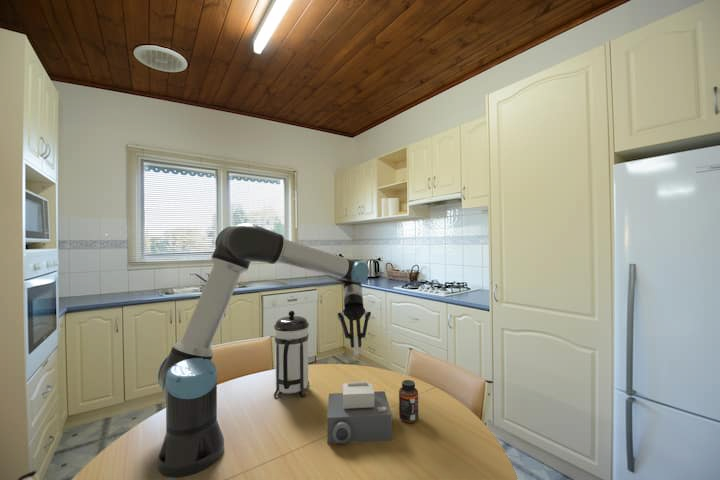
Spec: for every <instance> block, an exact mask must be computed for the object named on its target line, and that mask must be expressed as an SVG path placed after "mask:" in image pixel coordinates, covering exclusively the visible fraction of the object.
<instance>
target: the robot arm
mask: <svg viewBox="0 0 720 480" xmlns="http://www.w3.org/2000/svg"><path fill="white" fill-rule="evenodd" d="M214 246H215V248H214V251H213V254H212V255H211V258H210V259H211V261H212V264H213V266H212V268H211V271H210V273H209V275H208V278H207V280H206V282H205V285H204V287H203V289H202V291H201V294H200V296H199V298H198V301H197V304H196V306H195V308H194V310H193V313H192V315H191V317H190V319H189V321H188V324H187V326H186V329H185V331H184V334H183V335H182V338H181V339H180V341H178V342H175V343H174V344H173V345H172V347H171V350H170V352H169V354H168V355H167V356H166V357H165V358H164V359H163V361H162V362H161V364H160V365H159V369H158V372H157V380H158V385H159V386H160V388H161V391H162V393H163V396H164V400H165V407H166V408H165V409H166V410H165V411H166V412H165V418H166V422H165V423H166V428H165V430H166V431H165V435H164V439H163V441H162V444H161V447H160V451H159V454H158V457H157V469H158V472H160V473H161V474H163V475H164V476H167V477H175V478H177V477H183V476H184V477H185V476H188V475H192V474H195V473H198V472H200V471H202V470H204V469H206V468H208V467H210V466H211V465H213V464H214V463H215V462H216V461H218V459H219V458H221V456H222V455H223V454H224V453H223V452H224V450H225V438H224V435H223V432H222V430H221V427H220V425H219V422H218V413H217V412H218V406H217V404H218V398H217V397H218V392H217V389H218V388H217V387H218V384H217V383H218V371H217V366H216V364H215V362H213V361H212V359H213V356H214V352H213V349H212V345H213V343H214V340H215V338H216V335H217V333H218V330H219V328H220V326H221V324H222V320H223V318H224V316H225V313H226V311H227V309H228V305H229V304H230V301H231V299H232V296H233V293H234V292H235V288H236V286H237V283H238V281H239V279H240V276H241V274H243V273H244V272H247V271H248V269H249V267H250V264H251V262H258V263H259V262H260V263H268V264H271V265H275V264H277V263H280V264H285V265H288V266H292V267H296V268H300V269H303V270H307V271H311V272H314V273H319V274H323V275H324V276H325V277H329V278H331V279H332V280H334V281H336V282H338V283H339V284H341V285H342V287H343V309H342V312H341V311H340V312H337V320H339V321H340V324H341V327H342V332H343V334H344V337H345V339H349V340H350V343H349V344H350V348H351V349H353V357H354V358H359V357H360V349H359V348H362V339H365V338H366V335H367V329H368V323H369V320H370V318H371V316H372V313H371V311H366V309H365V307H364V299H363V288H362V286H363V285H362V283H363V282H365V281H366V280H367V279H369V278H368V277H369V276H370V268H369V265H368V264H367V263H366V262H364V261H360V260H353V259H350V258H346V257H344V256H340V255H336V254H333V253H330V252H328V251H325V250H324V251H323V250H321V249H318V248H314V247H311V246H308V245H306V244H305V245H304V244H302V243H298V242H296V241H293V240H289V239H286V238H285V236H284V235H283V234H280V233H278V232H275V231H272V230H270V229H267V228H264V227H262V226H259V225H256V224H252V223H239V224H231V225H228V226H226V227H225V228H223V229H222V230H221V231H220V232H219V233H218V234H217V236H216V238H215V245H214ZM363 316H364V322H363V327H362V332H361V319H362V317H363ZM345 317H346V318H347V320H348V321H349V329H348V328H347V324H346V320H345ZM354 321H355V324H356V335H354V332H355V331H354Z"/></svg>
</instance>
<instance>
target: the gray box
mask: <svg viewBox="0 0 720 480" xmlns="http://www.w3.org/2000/svg"><path fill="white" fill-rule="evenodd" d="M326 416H327V417H326V418H327V419H326V425H327V427H326V429H327V430H326V433H327V434H326V435H327V437H326V438H327V441H326V442H327V444H346V443H359V442H360V443H362V442H380V441H381V442H382V441H393V415H392V410H391V407H390V405H389V401H388V399H387V395H386V392H385V391H383V390H382V391H374V407H367V408H346V409H343V392H339V393H338V392H337V393H336V392H335V393H328V400H327V415H326Z"/></svg>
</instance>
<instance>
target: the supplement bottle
mask: <svg viewBox="0 0 720 480" xmlns="http://www.w3.org/2000/svg"><path fill="white" fill-rule="evenodd" d="M398 407H399V408H398V409H399V410H398V414H399V420H400V421H402V422H403V423H406V424H413V423H416V422H418V420H419V391H418V389H417V387H416V383H415V381H414V380H411V379H405V380H403V381H402V382H401V387H400V388H399V391H398Z"/></svg>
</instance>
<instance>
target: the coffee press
mask: <svg viewBox="0 0 720 480" xmlns="http://www.w3.org/2000/svg"><path fill="white" fill-rule="evenodd" d="M309 326H310V323H309V322H308V320H307V319H306V318H305V317H304V316H299V315H296V314H295V311H294V310H289V312H288V316H284V317H281V318H278V319H277V320H276V322H275V324H274V326H273V329H274V331H275V332H274V342H275V343H274V344H275V345H274V346H275V347H274V352H275V353H274V354H275V356H274V358H275V359H274V363H275V366H274V367H275V369H274V370H275V372H274V375H275V388H276V389H275V392H274V394H273V397H274V398H276V399H279V397H280V396H281V394H282V393H283V394H296V393H298V394H299V397H301V398H304V397H306V396H307V395H306V391H305V389H306V388H307V387H308V386H309V384H310V381H309V338H310V337H309V336H310V335H309Z"/></svg>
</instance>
